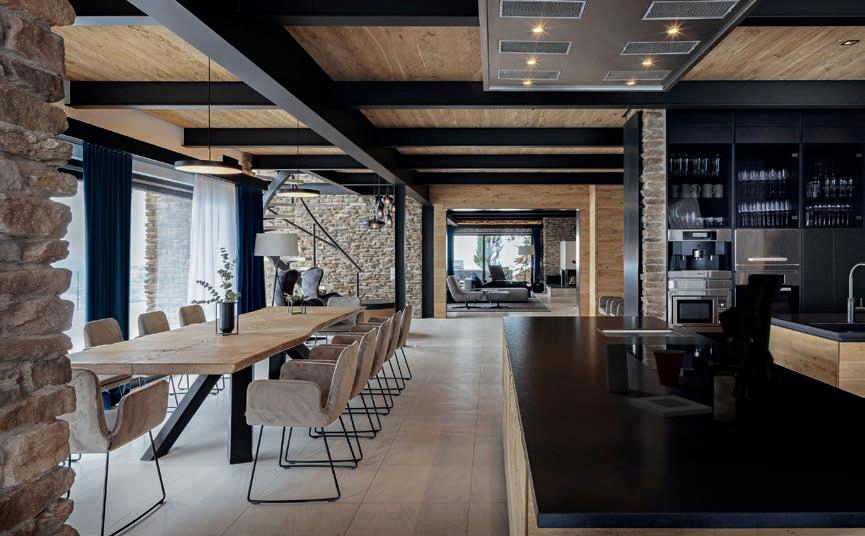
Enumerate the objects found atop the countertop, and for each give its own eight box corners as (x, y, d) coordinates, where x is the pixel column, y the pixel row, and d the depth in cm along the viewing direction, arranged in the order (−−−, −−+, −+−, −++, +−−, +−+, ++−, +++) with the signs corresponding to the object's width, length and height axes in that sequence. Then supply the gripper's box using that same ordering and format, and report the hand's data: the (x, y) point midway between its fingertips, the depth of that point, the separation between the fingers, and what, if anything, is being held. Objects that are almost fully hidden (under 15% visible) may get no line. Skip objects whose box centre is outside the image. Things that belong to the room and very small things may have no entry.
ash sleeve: (733, 417, 157) (733, 376, 156) (736, 422, 152) (736, 380, 152) (712, 415, 158) (712, 375, 158) (715, 420, 153) (715, 378, 153)
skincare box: (629, 393, 189) (629, 344, 189) (606, 392, 191) (606, 343, 191) (626, 387, 198) (626, 340, 198) (604, 386, 199) (604, 340, 199)
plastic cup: (685, 382, 206) (685, 348, 206) (686, 388, 196) (686, 352, 196) (652, 380, 210) (652, 346, 210) (651, 386, 200) (651, 351, 200)
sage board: (673, 400, 180) (673, 394, 179) (712, 413, 164) (712, 406, 164) (628, 403, 175) (628, 398, 175) (663, 417, 160) (663, 411, 160)
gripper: (693, 327, 164) (678, 372, 156) (768, 332, 151) (755, 381, 143) (703, 351, 170) (689, 396, 162) (776, 359, 157) (764, 407, 149)
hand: (722, 395), depth 154 cm, fingers closed on ash sleeve, 5 cm apart
